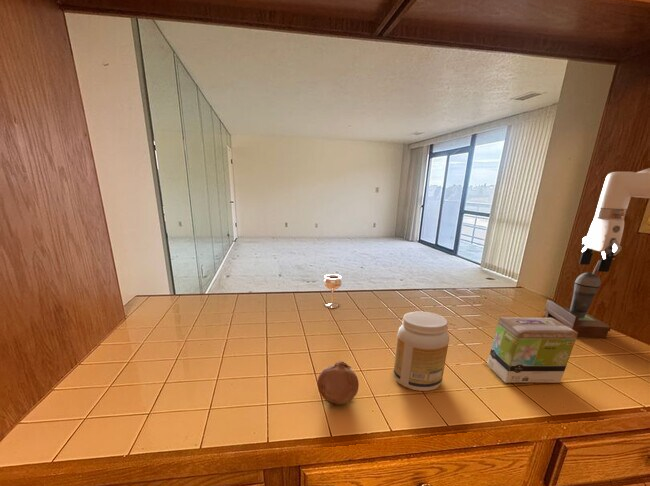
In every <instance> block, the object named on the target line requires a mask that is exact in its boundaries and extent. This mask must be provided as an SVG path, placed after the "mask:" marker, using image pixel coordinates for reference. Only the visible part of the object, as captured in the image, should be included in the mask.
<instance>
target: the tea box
mask: <svg viewBox="0 0 650 486" xmlns="http://www.w3.org/2000/svg"><path fill="white" fill-rule="evenodd" d="M577 335H578V332H576V331H574V330H573V329H571V328H569V327H568V326H566V325H565V324H563V323H562V322H561V321H559V320H558V319H554V318H546V317H523V316H522V317H518V316H517V317H516V316H515V317H514V316H512V317H510V316H509V317H508V316H507V317H506V316H505V317H504V316H500V317H499V318H498V322H497V326H496V328H495V332H494V336H493V340H492V344H491V349H490V352H489V356H488V359H487V363H486V364H487V366H488V367H489V368H490V369H491V370H492V371H493V372H494V373H495V374H496V376H498V377H499V378H500V380H502V381H503V382H504V384H508V383H509V384H510V383H548V384H549V383H551V384H552V383H553V384H559V383H561V381H562V378H563V376H564V373H565V370H566V368H567V365H568V363H569V359H570V357H571V354H572V353H573V352H572V351H573V348H574V345H575V344H576V340H577V338H578V337H577Z"/></svg>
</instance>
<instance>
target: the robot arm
mask: <svg viewBox="0 0 650 486" xmlns="http://www.w3.org/2000/svg"><path fill="white" fill-rule="evenodd" d="M632 198H642V199H650V167H648V168H645V169H642V170H639V171H636V172H635V171H611V172H609V173H607V175H606V177H605V179H604V183H603V186H602V189H601V192H600V195H599V199H598V202H597V206H596V209H595V213H594V216H593V220H592V221H591V224H590V226H589V229H588V231H587V234H586V236H584V237H583V238H582V239H581V241H582V243H581V256H580V259H579V262H578V264H579V265H584V266H585V265H587V266H588V265H590V264H591V261H592V257H593V254H594V253H593V252H594V251H595V252H599V253H601V256H602V258H600V262H599V264H598V267H597V269H596V271H597V272H600V273H601V272H602V273H603V272H604V273H608V272H609V271H610V269H611V266H612V262H613V260H615V258H616V257H617V256H618V255H619V253H620V252H621V250H622V249H623V247H622V246H621V242H622V239H623V234H624V228H625V216H626V213H627V211H628V207H629V204H630V201H631V199H632Z"/></svg>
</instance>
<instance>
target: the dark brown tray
mask: <svg viewBox="0 0 650 486" xmlns="http://www.w3.org/2000/svg"><path fill="white" fill-rule="evenodd" d="M544 312H545V313H544V317H543V318H554V319H555V320H557V321H559V322H560V323H562V324H564V325H566V326H567V327H569V328H571V329H573V330H574V331H576V332H578V335H577V338H594V339H607V336H608V334H609V332H611V329H612V327H611V326H610V325H608V324H606V323H605V322H603V321H602V320H599V319H598V318H596V317H595V316H593V315H591V314H589V313H588V312H587V313H586V315H585V317H584V318H579V317H578V316H576V315H575V314H573V313H571V312H570V307H564V306H562V305H561V304H559V303H557V302H556V301H553V300H552V299H549V298H547V301H546V304H545V307H544Z"/></svg>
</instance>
